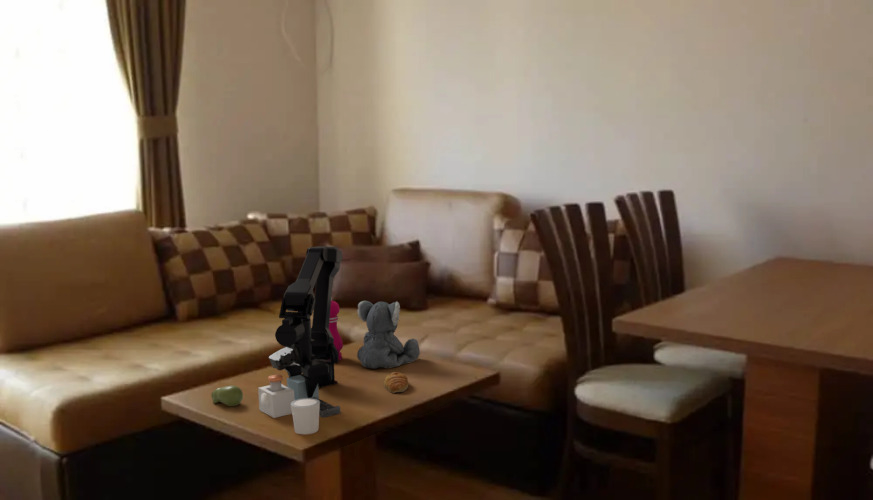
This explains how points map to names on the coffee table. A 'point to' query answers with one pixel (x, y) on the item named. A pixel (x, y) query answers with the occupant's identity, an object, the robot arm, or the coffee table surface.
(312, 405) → the shot glass
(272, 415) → the cabinet
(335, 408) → the rail
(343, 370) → the coffee table surface
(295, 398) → the block
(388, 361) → the koala plush
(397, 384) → the pastry
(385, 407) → the coffee table surface
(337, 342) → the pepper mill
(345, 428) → the coffee table surface
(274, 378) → the button
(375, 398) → the coffee table surface
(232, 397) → the green eggplant
